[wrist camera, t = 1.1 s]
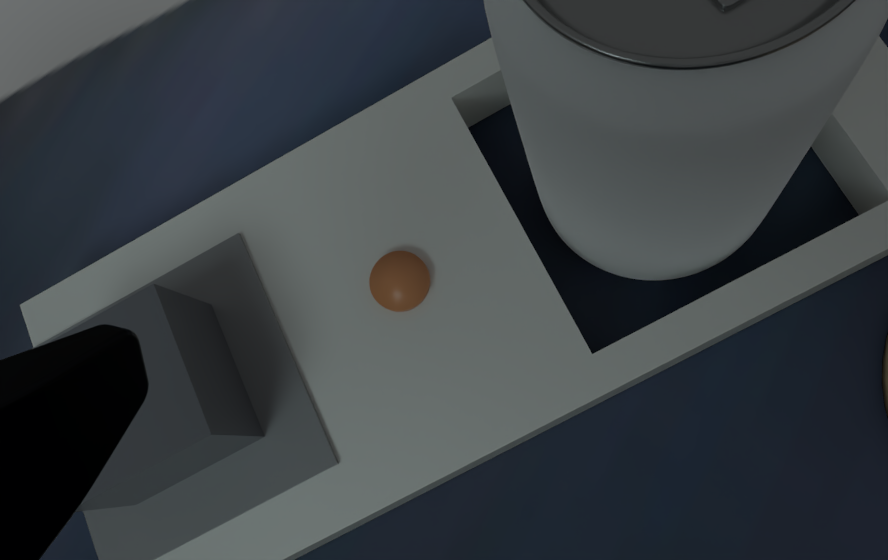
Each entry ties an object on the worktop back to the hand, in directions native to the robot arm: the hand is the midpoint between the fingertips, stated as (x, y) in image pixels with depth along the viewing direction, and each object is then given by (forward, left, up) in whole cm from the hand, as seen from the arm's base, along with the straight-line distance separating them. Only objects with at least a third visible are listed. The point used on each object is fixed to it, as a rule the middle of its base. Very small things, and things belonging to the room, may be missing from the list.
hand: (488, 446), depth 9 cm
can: (+6, -6, -13) cm, 16 cm away
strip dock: (+6, 0, -13) cm, 14 cm away
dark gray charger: (+6, +9, -11) cm, 15 cm away
